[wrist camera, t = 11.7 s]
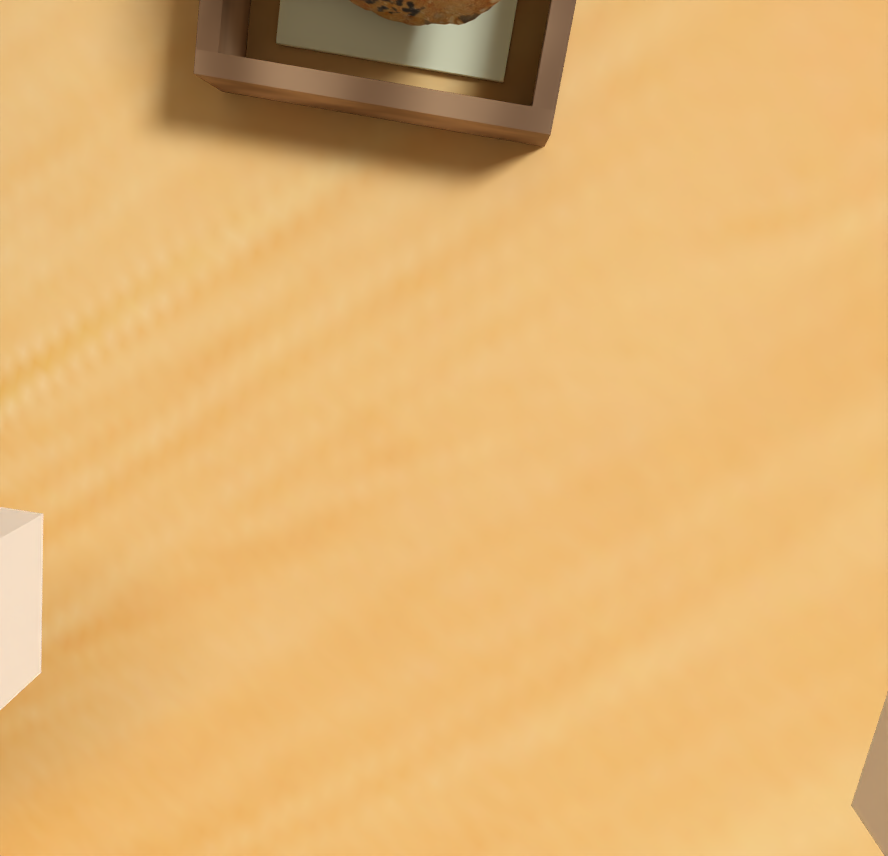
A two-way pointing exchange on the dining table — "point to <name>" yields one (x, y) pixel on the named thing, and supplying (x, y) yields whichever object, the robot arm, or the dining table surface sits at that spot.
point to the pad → (401, 37)
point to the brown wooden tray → (233, 73)
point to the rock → (427, 10)
